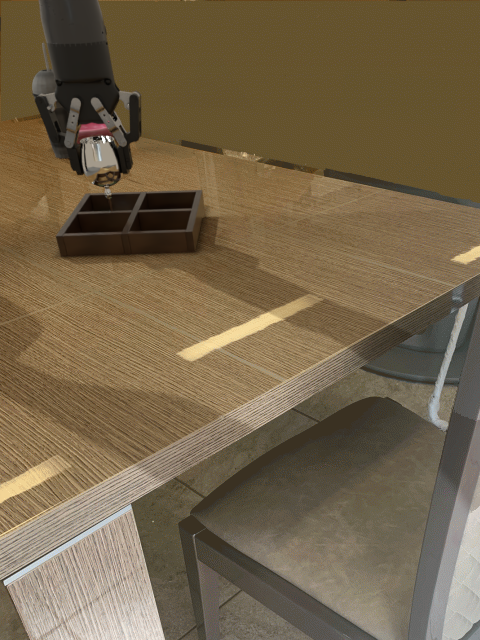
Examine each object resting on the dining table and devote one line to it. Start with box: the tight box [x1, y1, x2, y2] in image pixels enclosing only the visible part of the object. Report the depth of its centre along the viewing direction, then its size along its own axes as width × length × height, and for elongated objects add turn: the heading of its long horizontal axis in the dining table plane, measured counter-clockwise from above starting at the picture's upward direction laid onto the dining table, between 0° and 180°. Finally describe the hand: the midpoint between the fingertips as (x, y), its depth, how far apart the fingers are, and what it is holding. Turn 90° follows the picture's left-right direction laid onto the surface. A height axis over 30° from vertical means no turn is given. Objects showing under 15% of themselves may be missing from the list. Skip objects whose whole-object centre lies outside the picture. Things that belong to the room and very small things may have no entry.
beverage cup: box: [31, 42, 69, 159], centre depth 125 cm, size 7×7×20 cm
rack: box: [55, 189, 206, 258], centre depth 93 cm, size 18×18×4 cm
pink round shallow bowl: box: [77, 121, 114, 145], centre depth 141 cm, size 12×12×3 cm
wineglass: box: [79, 136, 124, 211], centre depth 93 cm, size 6×6×12 cm
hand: (104, 172), depth 92 cm, fingers closed on wineglass, 5 cm apart
